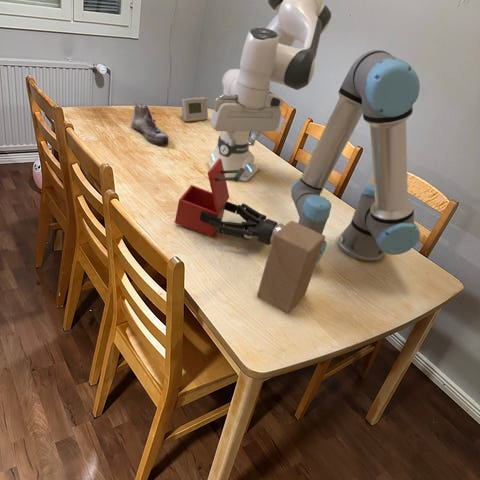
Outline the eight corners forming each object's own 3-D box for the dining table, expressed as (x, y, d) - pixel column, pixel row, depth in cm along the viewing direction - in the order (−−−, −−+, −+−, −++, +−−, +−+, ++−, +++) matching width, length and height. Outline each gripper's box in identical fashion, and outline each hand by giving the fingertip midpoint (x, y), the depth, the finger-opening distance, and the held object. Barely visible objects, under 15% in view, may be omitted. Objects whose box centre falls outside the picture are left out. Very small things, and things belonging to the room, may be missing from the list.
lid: (207, 172, 124) (234, 171, 122) (218, 158, 132) (244, 157, 130) (216, 213, 131) (243, 212, 129) (226, 197, 139) (251, 196, 136)
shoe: (172, 146, 190) (175, 119, 184) (147, 147, 185) (150, 118, 178) (151, 125, 207) (154, 99, 201) (129, 125, 202) (130, 98, 195)
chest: (174, 222, 138) (179, 199, 132) (186, 206, 146) (191, 184, 140) (211, 237, 137) (217, 214, 131) (221, 220, 145) (227, 198, 139)
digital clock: (183, 122, 219) (186, 101, 213) (175, 116, 224) (177, 95, 219) (211, 122, 228) (214, 101, 222) (202, 115, 233) (205, 95, 228)
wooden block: (289, 314, 113) (310, 251, 102) (255, 296, 116) (273, 233, 106) (304, 296, 120) (326, 235, 110) (273, 279, 124) (291, 219, 113)
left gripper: (221, 98, 109) (213, 150, 116) (288, 101, 119) (276, 148, 127) (210, 90, 113) (203, 141, 121) (275, 93, 124) (264, 140, 131)
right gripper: (257, 262, 125) (189, 234, 130) (283, 229, 144) (223, 205, 149) (263, 240, 121) (193, 212, 126) (289, 209, 140) (227, 186, 145)
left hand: (241, 145), depth 124 cm, fingers open, 5 cm apart
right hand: (209, 208), depth 138 cm, fingers closed on chest, 11 cm apart
